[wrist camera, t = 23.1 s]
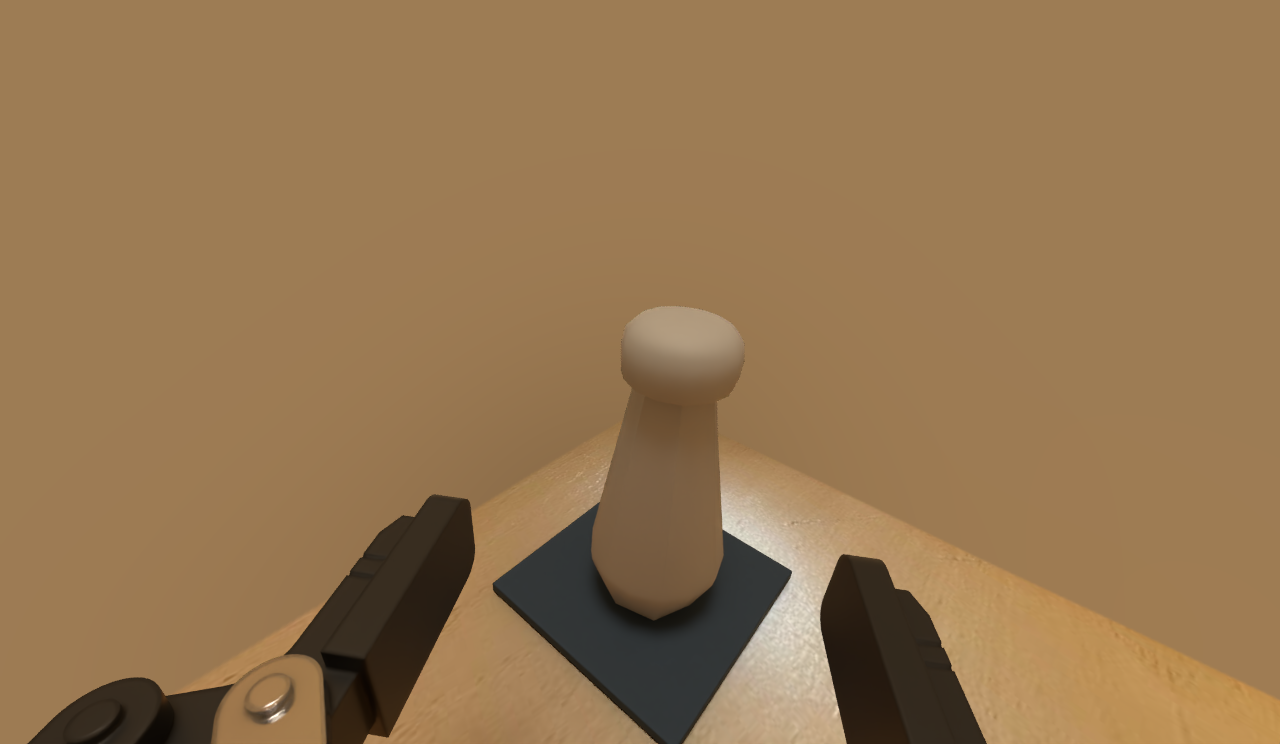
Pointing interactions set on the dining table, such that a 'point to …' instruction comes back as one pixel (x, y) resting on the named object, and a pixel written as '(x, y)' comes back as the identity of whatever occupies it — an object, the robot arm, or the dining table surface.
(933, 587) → the dining table surface
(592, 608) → the mat
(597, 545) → the salt shaker
